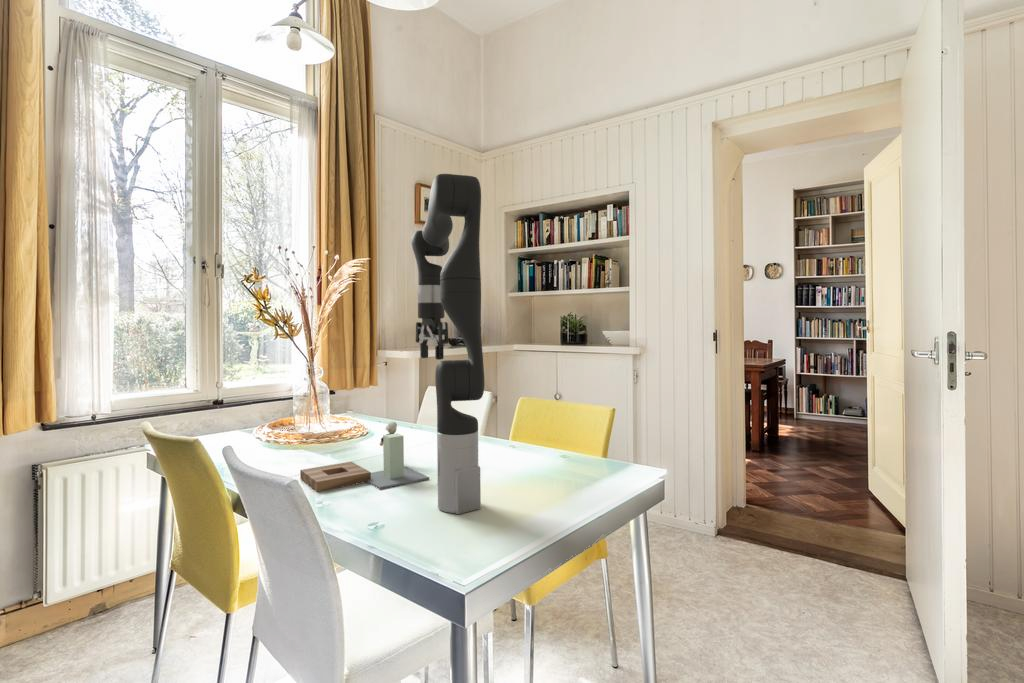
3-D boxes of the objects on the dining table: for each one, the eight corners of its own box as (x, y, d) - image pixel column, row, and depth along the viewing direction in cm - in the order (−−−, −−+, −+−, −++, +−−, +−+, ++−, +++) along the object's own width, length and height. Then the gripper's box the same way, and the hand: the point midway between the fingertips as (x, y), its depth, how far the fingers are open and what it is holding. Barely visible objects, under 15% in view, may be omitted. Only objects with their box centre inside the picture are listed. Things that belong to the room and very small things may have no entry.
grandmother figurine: (406, 462, 159) (406, 420, 159) (402, 466, 155) (402, 422, 155) (381, 462, 160) (381, 420, 160) (377, 465, 156) (376, 422, 156)
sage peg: (403, 476, 143) (403, 435, 142) (390, 479, 140) (389, 437, 140) (397, 473, 146) (396, 433, 145) (383, 475, 143) (383, 435, 143)
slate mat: (429, 479, 142) (429, 477, 142) (379, 489, 133) (379, 487, 133) (405, 468, 153) (405, 466, 153) (358, 477, 144) (358, 474, 144)
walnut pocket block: (370, 481, 140) (370, 472, 140) (316, 491, 132) (316, 481, 132) (351, 470, 151) (351, 461, 151) (300, 479, 143) (300, 469, 143)
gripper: (455, 301, 148) (456, 359, 148) (430, 302, 159) (430, 356, 159) (432, 300, 143) (432, 360, 144) (407, 302, 154) (408, 358, 155)
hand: (431, 358), depth 151 cm, fingers open, 8 cm apart
